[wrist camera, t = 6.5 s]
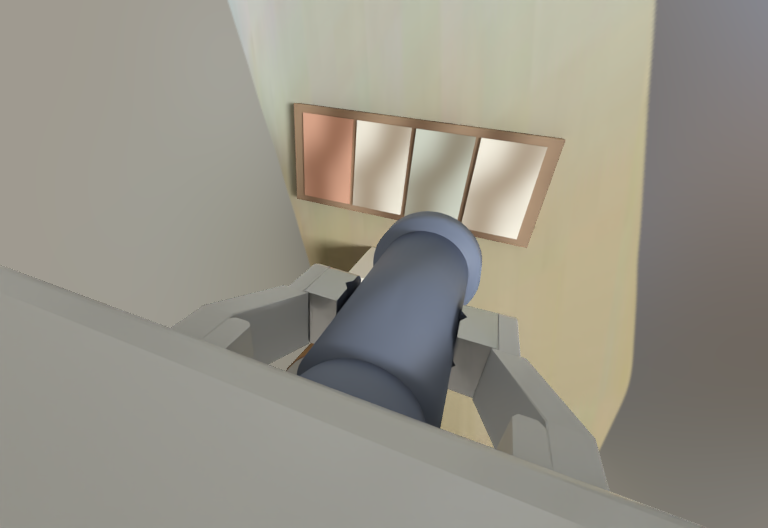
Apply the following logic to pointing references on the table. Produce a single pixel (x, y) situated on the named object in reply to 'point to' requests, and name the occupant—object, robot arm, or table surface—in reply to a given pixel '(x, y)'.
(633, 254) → the table surface
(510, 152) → the board
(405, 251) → the pawn
